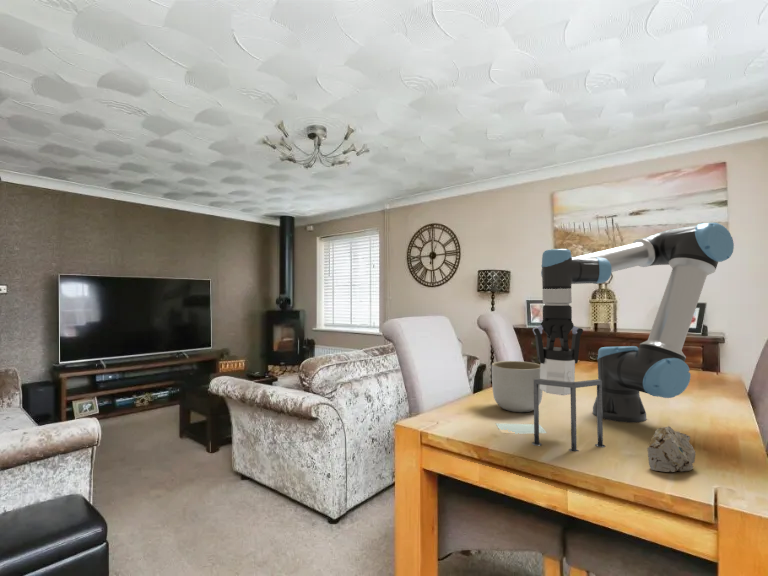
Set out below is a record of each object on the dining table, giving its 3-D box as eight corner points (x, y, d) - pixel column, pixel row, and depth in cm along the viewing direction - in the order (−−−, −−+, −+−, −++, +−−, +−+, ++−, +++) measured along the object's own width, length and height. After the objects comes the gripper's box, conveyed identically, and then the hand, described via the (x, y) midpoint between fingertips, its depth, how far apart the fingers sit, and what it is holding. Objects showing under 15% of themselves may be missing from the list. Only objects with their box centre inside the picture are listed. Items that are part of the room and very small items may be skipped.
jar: (559, 396, 107) (560, 352, 107) (534, 389, 114) (535, 347, 114) (579, 393, 111) (581, 350, 111) (554, 386, 118) (555, 346, 118)
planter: (547, 406, 143) (547, 363, 143) (537, 418, 129) (536, 371, 129) (500, 399, 152) (499, 359, 153) (485, 411, 138) (485, 366, 138)
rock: (675, 471, 84) (671, 422, 88) (644, 468, 89) (642, 422, 94) (711, 483, 88) (705, 435, 92) (679, 479, 93) (675, 434, 98)
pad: (539, 425, 123) (539, 424, 123) (553, 441, 110) (553, 439, 110) (495, 424, 124) (495, 423, 124) (504, 439, 111) (504, 438, 111)
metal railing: (603, 446, 106) (602, 378, 106) (614, 455, 99) (613, 384, 100) (530, 444, 107) (529, 377, 108) (537, 453, 101) (536, 383, 101)
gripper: (580, 304, 116) (582, 386, 116) (524, 304, 117) (525, 385, 117) (591, 304, 108) (593, 392, 108) (531, 305, 110) (532, 391, 110)
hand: (557, 388), depth 113 cm, fingers open, 3 cm apart
